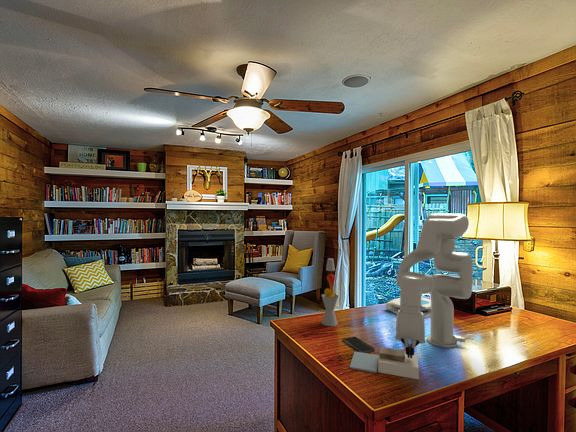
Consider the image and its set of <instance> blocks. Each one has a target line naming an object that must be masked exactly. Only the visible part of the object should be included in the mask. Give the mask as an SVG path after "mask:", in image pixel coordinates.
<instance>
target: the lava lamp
mask: <svg viewBox="0 0 576 432" xmlns="http://www.w3.org/2000/svg"><path fill="white" fill-rule="evenodd" d="M325 270H326V271H329V272H334V271H336V268H335V262H334V258H330V257H329V258H327V261H326V268H325ZM335 277H336V276H335V275H334V274H333V273H329V274H327V275H326V280H327V282H328V284H329V288H327V287H326V288H325V289H324V291H323V292H324V293H323V294H321V299H322V301H323V305H324V307H325V310H324V311H325V312H324V314H323V317H322V320H321V325H323V326H327V327H335V326H337V325H338V320H337V317H336V313H335V307H336V305H337V302H338V298H339V295H338V294H335V292H334V283H335Z"/></svg>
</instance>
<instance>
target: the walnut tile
mask: <svg viewBox="0 0 576 432" xmlns="http://www.w3.org/2000/svg"><path fill="white" fill-rule="evenodd" d="M405 352H406V351H405V349H404V350H403V349H397V348H391V347H385V346H380V348H379V354H380V358H382V359H387V360H393V361H399V362H405Z"/></svg>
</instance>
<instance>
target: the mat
mask: <svg viewBox="0 0 576 432" xmlns="http://www.w3.org/2000/svg"><path fill="white" fill-rule="evenodd" d="M378 361H379V355H378V354H373V353H361V352H357V351H353V355H352V359H351V362H350V365H349V369H352V370H358V371H363V372H367V373H368V372H369V373H373V374H377V373H378Z"/></svg>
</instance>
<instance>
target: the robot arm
mask: <svg viewBox="0 0 576 432" xmlns="http://www.w3.org/2000/svg"><path fill="white" fill-rule="evenodd" d="M469 223H470V222H469V218H468V217H467V215H466V214H463V213H431V214H429V215H428V216H427V217H426V220H425V221H424V222H423V224H422V226H421V231H420V235H419V237H418V241H417V244H416V248H415V249H413V250H412V251H410V252H409V253H408V254H407V255H406V256H405V257H404V258H403V259H401V262H400V264H399V268H398V270H397V275H396V285H397V286H398V288H400V293H399V294H400V295H399V298H400V309H399V310H398V312H397V314H396V320H395V321H396V322H395V323H396V324H395V336H394V339H395V340H396V341H399V342H401V343H402V344H403V345H404V346H405V352H406V354H407V356H408V358H412V355H413V356H414V354H415V348H416V347H417V346H418V345H422V344H426V341H427V342H428V343H429V344H431V345H434V346H437V347H440V348H449V349H450V348H455V347H457V346H458V342H460V343H466V338H465V337H461V335H456V334H454V315H455V313H454V311H455V309H454V304H453V301H452V299H450V298H455V299H462V300H468V299H470V297H472V292H473V278H474V276H473V270H474V264H473V261H474V260H473V258H472V256H471V255H470V254H469V253H467V252H458V251H457V252H456V251H455V250H456V249H455V247H456V246H455V244H456V242H455V240H457V239H460V238H461V237H462V236H463V235H464V234H465V233H466V232H467V230H468V228H469ZM431 259H433V267H434V268H435V270H436V271H438V272H439V271H440V272H444V273H453V274H458V275H459V276H456V275H451V274H450V275H449V274H444V273H443V274H442V273H435V274H432V275H430V274H427V273H420V272H415V271H410V270H411V268H412V267H413V266H414V265H416V264H418V263H420V262H421V263H422V262H425V261H428V260H431ZM424 294H430V299H431V316H430V332H429V333H430V334H429V335H427V336H426V328H425V318H424V315H423V313H424V312H426V308H425V307H423V306H421V297H422V295H424ZM423 311H424V312H423ZM425 337H426V339H425ZM409 340H411V343H409Z"/></svg>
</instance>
